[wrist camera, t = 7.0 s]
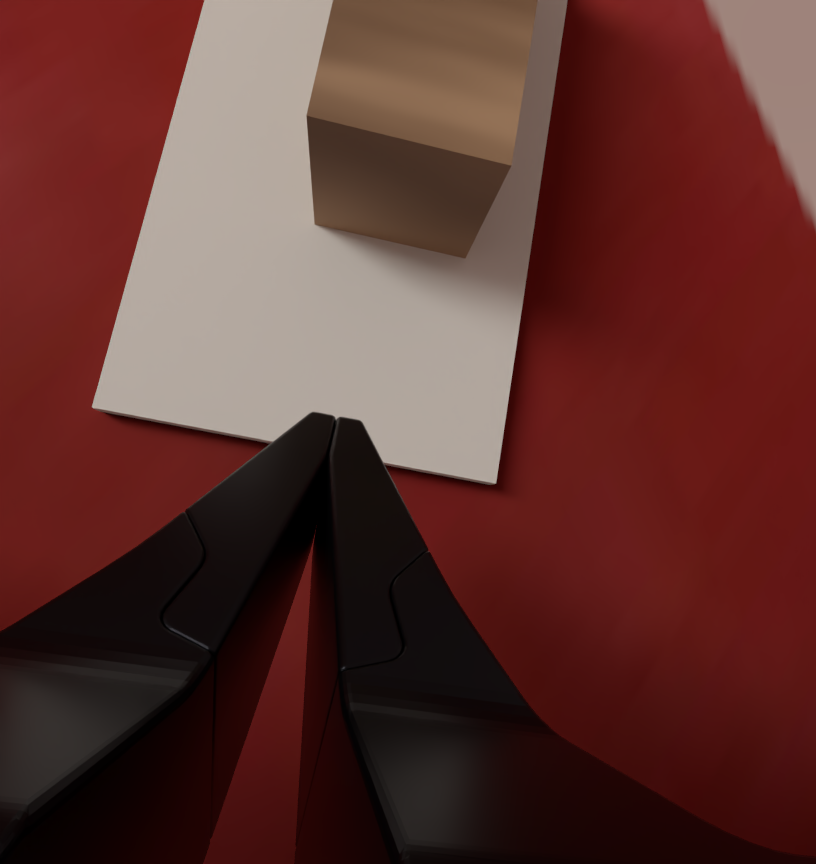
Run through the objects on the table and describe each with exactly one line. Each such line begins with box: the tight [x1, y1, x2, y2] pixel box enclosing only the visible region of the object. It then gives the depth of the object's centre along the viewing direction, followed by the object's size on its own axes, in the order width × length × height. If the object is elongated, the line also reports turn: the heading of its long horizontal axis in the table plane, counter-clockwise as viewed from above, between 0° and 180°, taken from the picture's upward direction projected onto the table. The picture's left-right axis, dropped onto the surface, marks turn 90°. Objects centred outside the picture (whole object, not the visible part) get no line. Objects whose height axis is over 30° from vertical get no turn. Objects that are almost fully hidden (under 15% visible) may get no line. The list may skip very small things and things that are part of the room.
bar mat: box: [92, 0, 568, 485], centre depth 17 cm, size 20×11×1 cm, turn 170°
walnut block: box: [306, 0, 538, 258], centre depth 15 cm, size 4×4×11 cm
